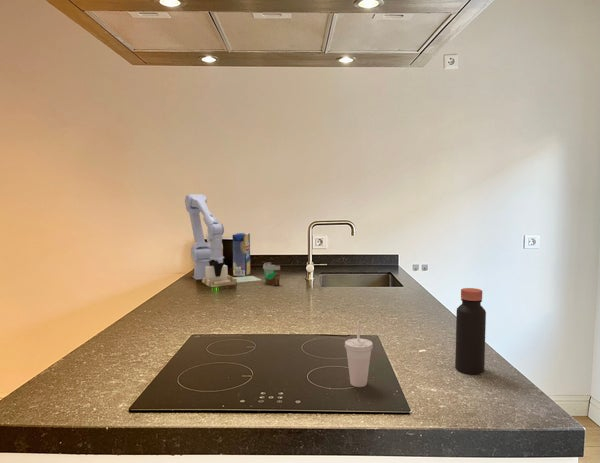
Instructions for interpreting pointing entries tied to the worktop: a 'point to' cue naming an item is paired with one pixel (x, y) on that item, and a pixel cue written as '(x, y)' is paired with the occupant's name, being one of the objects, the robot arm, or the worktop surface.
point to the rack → (210, 283)
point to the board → (247, 279)
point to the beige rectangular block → (211, 273)
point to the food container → (271, 274)
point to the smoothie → (358, 359)
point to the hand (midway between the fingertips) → (216, 275)
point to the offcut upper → (221, 282)
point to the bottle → (470, 332)
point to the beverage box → (241, 254)
